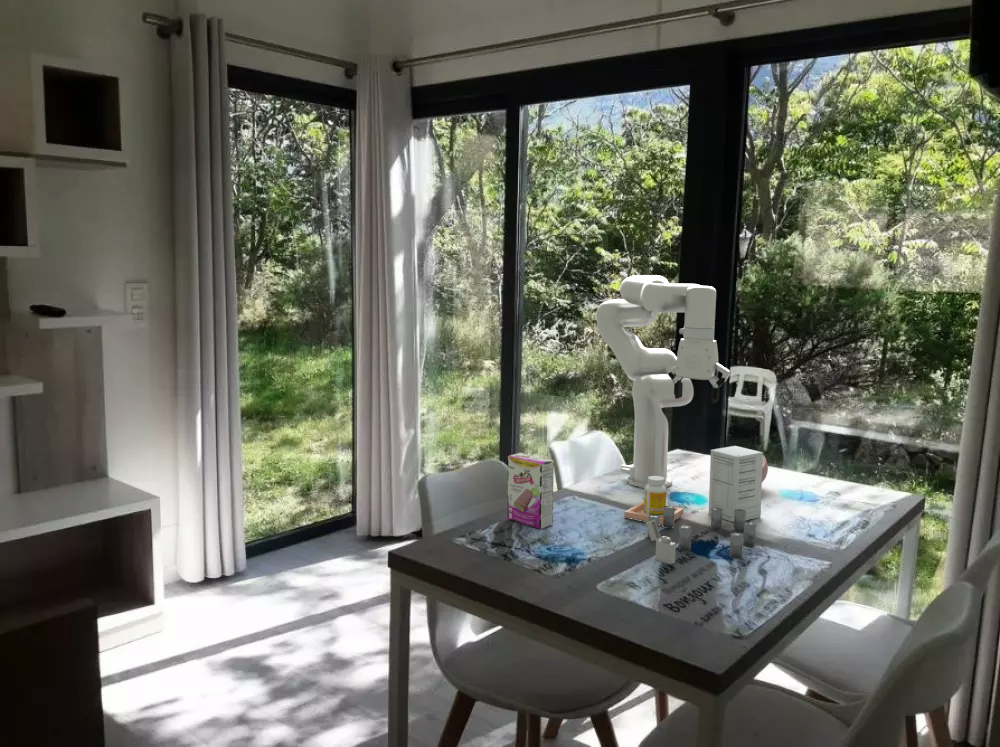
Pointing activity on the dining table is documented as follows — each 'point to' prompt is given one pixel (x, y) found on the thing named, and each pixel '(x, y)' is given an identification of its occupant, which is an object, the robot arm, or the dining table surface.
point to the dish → (638, 514)
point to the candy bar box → (530, 490)
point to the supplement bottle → (655, 496)
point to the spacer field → (716, 525)
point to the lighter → (661, 544)
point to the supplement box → (736, 481)
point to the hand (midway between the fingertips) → (695, 400)
